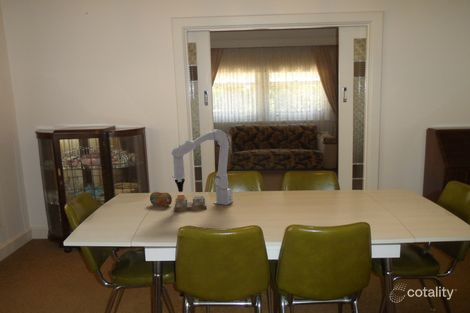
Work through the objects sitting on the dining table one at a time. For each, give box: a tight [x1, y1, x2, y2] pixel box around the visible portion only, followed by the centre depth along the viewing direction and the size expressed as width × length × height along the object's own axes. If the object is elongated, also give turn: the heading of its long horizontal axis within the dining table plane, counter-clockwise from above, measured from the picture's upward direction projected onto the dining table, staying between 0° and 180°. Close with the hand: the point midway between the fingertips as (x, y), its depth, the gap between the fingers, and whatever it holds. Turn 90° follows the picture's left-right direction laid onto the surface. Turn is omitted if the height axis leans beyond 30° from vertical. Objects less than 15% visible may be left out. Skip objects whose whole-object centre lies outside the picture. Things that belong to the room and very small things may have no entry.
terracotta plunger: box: [176, 192, 186, 200], centre depth 206 cm, size 4×4×4 cm
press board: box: [174, 195, 208, 213], centre depth 207 cm, size 18×10×6 cm, turn 98°
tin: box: [149, 191, 173, 208], centre depth 215 cm, size 15×3×8 cm, turn 62°
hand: (180, 191), depth 205 cm, fingers closed
